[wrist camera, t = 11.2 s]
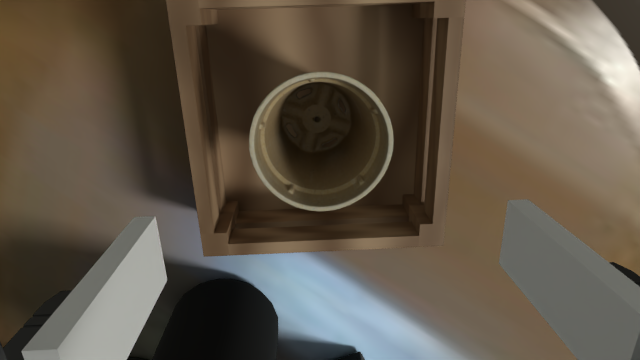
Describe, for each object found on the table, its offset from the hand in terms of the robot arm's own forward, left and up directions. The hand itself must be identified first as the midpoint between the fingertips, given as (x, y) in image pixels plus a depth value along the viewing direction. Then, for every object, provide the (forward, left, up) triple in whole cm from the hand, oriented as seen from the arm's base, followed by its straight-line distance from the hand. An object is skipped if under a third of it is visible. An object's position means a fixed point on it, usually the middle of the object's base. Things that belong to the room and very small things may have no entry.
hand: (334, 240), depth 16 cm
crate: (0, 0, -22) cm, 22 cm away
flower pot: (0, 0, -21) cm, 21 cm away
